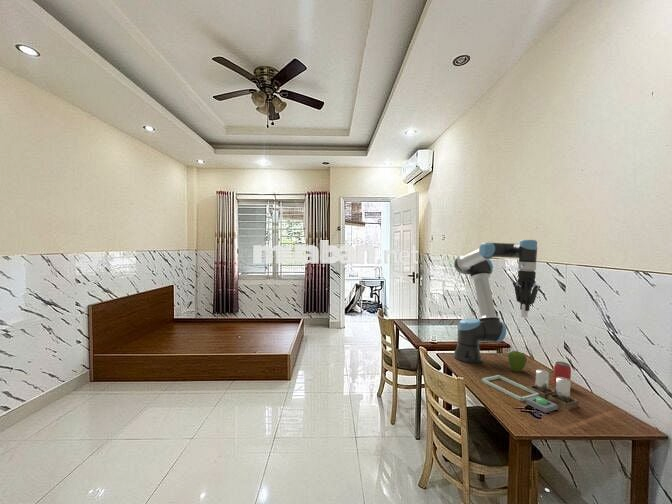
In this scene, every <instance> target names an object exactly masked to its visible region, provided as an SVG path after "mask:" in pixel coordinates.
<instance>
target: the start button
mask: <svg viewBox="0 0 672 504" xmlns="http://www.w3.org/2000/svg"><path fill="white" fill-rule="evenodd" d="M536 402H537V403H539V404H541V405H543V406H545V405H547V400H546V399H544V398H541V397H536Z"/></svg>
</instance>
